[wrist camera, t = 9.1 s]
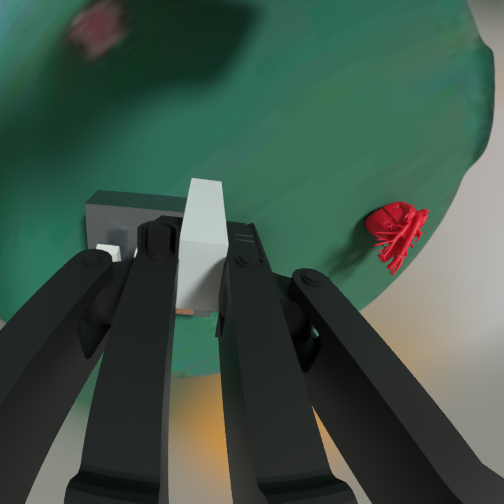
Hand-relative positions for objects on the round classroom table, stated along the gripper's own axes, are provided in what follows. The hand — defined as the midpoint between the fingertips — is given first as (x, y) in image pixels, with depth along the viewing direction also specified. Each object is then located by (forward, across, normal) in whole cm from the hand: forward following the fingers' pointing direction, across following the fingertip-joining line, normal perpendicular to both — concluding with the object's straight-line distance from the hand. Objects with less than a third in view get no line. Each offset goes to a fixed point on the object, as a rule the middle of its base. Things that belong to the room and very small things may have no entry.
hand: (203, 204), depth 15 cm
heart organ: (+31, +34, -9) cm, 47 cm away
